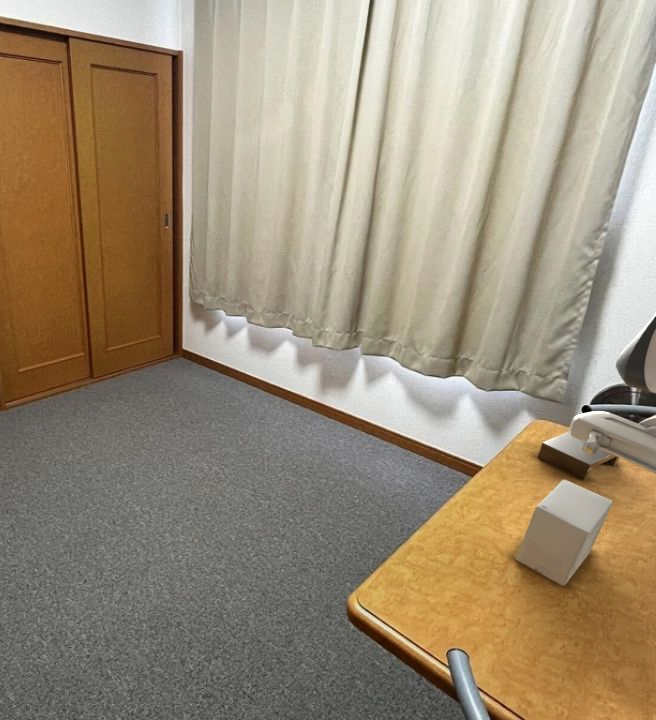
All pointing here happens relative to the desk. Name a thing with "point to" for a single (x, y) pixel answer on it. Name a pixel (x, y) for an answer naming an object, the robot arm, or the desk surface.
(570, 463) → the dark bridge stand
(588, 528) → the cosmetics box
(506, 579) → the desk surface
